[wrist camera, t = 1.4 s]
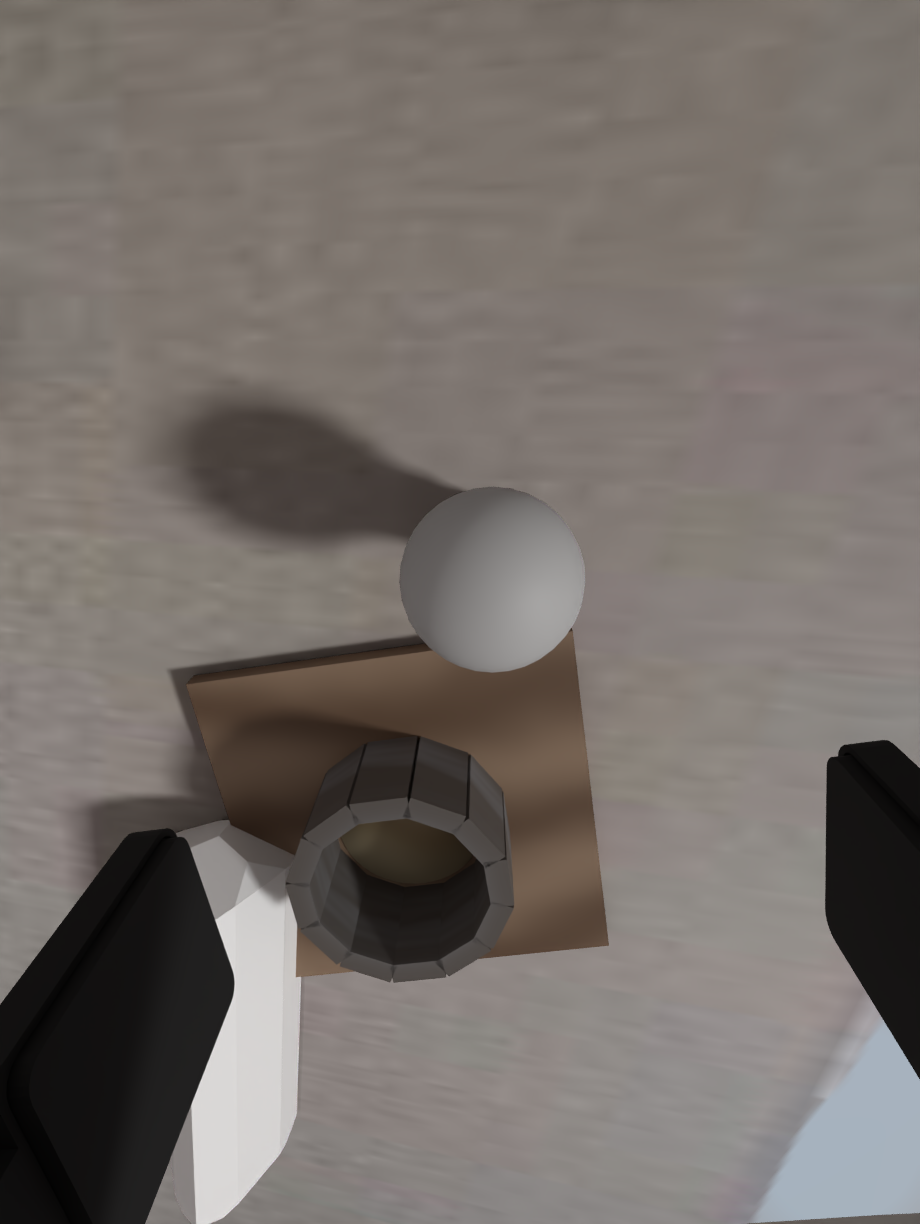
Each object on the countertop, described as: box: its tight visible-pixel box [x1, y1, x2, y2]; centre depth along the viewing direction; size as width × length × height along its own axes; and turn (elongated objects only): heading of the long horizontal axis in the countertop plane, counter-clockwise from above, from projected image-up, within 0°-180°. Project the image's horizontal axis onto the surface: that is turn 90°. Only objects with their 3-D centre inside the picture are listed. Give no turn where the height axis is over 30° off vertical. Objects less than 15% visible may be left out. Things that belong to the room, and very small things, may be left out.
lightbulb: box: [399, 487, 585, 673], centre depth 26 cm, size 6×6×11 cm
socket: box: [186, 628, 609, 983], centre depth 33 cm, size 18×18×6 cm
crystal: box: [170, 820, 301, 1224], centre depth 38 cm, size 7×7×24 cm
